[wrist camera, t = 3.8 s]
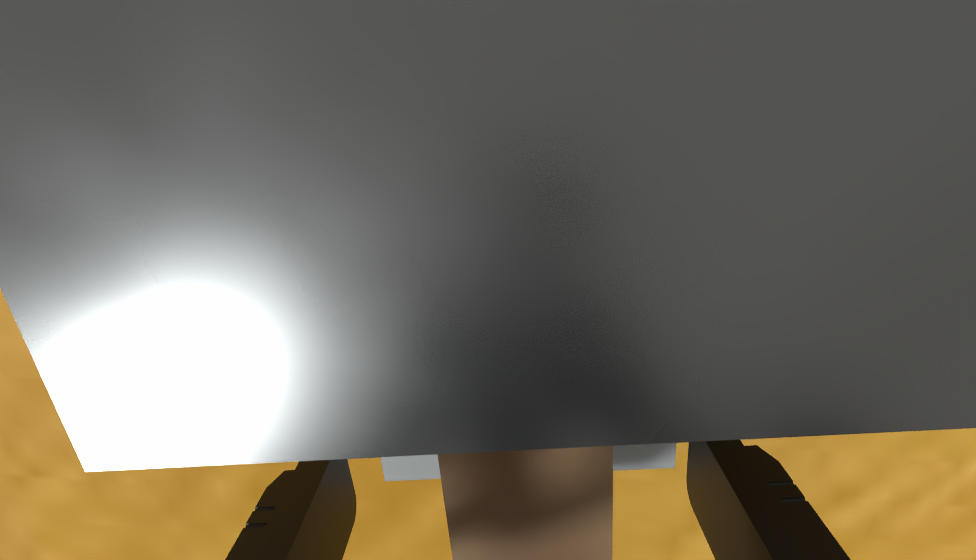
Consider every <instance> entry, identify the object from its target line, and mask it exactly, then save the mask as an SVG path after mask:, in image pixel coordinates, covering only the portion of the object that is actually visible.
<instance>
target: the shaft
mask: <svg viewBox="0 0 976 560" xmlns="http://www.w3.org/2000/svg"><path fill="white" fill-rule="evenodd" d="M437 455H438V462H439V469H440V475H441V482H442V489H443V496H444V502H445V509H446V516H447V523H448V529H449V536H450V543H451V550H452V557H453V560H612V515H613V446H598V447H578V448H558V449H537V450H517V451H497V452H477V453H456V454H437Z"/></svg>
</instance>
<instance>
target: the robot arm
mask: <svg viewBox="0 0 976 560" xmlns="http://www.w3.org/2000/svg"><path fill="white" fill-rule="evenodd" d="M687 490H688V495H689V499H690V503H691V506H692V508H693V511H694V513H695V515H696V517H697V520H698V522H699V524H700V526H701V528H702V531H703V533H704V535H705V537H706V540H707V542H708V544H709V546H710V548H711V551H712V553H713V555H714V557H715V560H850V558H849V557H848V556H847V554H846V553H845V552H844V550H843V549H842V547H841V546H840V545H839V543H838V542H837V541H836V539H835V538H834V536H833V535H832V534H831V532H830V531H829V530H828V528H827V527H826V526H825V524H824V523H823V521H822V520H821V519H820V517H819V516H818V515H817V513H816V512H815V510H814V509H813V508H812V506H811V505H810V504H809V502H808V501H805V497H804V495H803V494H802V493H801V491H800V490H799V489H798V487H797V486H796V485H794V484H793V480H792V479H791V478H790V476H789V475H788V474H787V472H786V471H785V469H784V468H783V467H782V465H781V464H780V463H779V461H777V460H776V459H775V458H773V457H772V456H771V455H769V454H768V453H767V452H765V451H764V450H762V449H761V448H760V447H758V446H757V445H753V446H744V445H743V444H742V442H741V441H740V440H720V441H699V442H689V449H688V463H687ZM355 515H356V495H355V490H354V486H353V482H352V478H351V474H350V469H349V465H348V461H347V459H335V460H314V461H299V463H298V465H297V467H296V469H295V470H287V471H284V472H283V473H282V474H281V475H280V476H279V477H278V478H276V479H275V480H274V481H273V482H272V483H271V484H270V485H269V486H268V487H267V488H266V490H265V491H264V493H263V495H262V497H261V498H260V500H259V502H258V504H257V505H256V507H255V511H253V512H252V514H251V516H250V517H249V519H248V521H247V523H246V528H243V530H242V531H241V533H240V535H239V537H238V538H237V540H236V542H235V544H234V545H233V547H232V549H231V551H230V552H229V554H228V556H227V558H226V559H225V560H342V558H343V555H344V552H345V549H346V546H347V543H348V540H349V537H350V534H351V531H352V528H353V525H354V521H355Z"/></svg>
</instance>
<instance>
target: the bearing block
mask: <svg viewBox="0 0 976 560" xmlns="http://www.w3.org/2000/svg"><path fill="white" fill-rule="evenodd" d="M0 288H1V291H2V293H3V295H4V297H5V299H6V301H7V304H8V306H9V308H10V310H11V312H12V314H13V316H14V319H15V321H16V323H17V325H18V327H19V329H20V332H21V334H22V336H23V338H24V340H25V342H26V345H27V347H28V349H29V351H30V353H31V355H32V358H33V360H34V362H35V364H36V366H37V368H38V371H39V373H40V375H41V377H42V379H43V381H44V384H45V386H46V388H47V390H48V392H49V394H50V396H51V399H52V401H53V403H54V405H55V407H56V409H57V412H58V414H59V416H60V418H61V420H62V422H63V425H64V427H65V429H66V431H67V433H68V435H69V438H70V440H71V442H72V444H73V446H74V448H75V451H76V453H77V455H78V457H79V459H80V461H81V463H82V466H83V468H84V470H85V472H92V471H112V470H132V469H152V468H173V467H193V466H213V465H233V464H254V463H274V462H294V461H314V460H335V459H355V458H375V457H396V456H416V455H436V454H456V453H477V452H497V451H517V450H537V449H558V448H578V447H598V446H618V445H639V444H659V443H679V442H699V441H720V440H740V439H760V438H780V437H801V436H821V435H841V434H861V433H882V432H902V431H922V430H942V429H963V428H976V0H0Z"/></svg>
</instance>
